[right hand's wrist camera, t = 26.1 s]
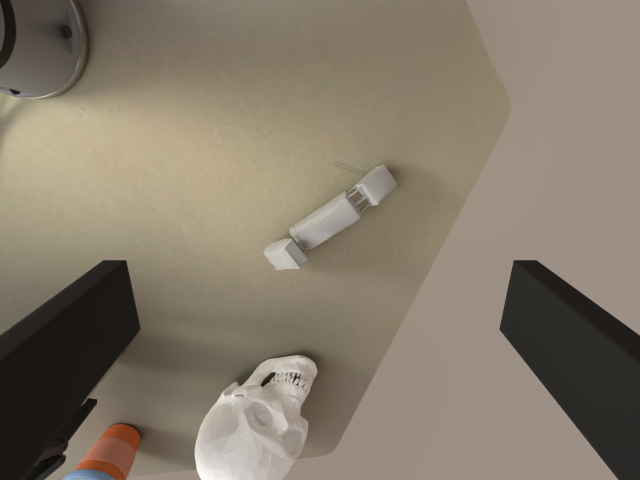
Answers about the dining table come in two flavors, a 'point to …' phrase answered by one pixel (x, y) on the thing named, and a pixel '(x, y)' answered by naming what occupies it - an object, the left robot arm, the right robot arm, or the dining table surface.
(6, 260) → the dining table surface
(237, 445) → the skull
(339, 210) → the white segmented block model
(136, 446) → the cup with straw
